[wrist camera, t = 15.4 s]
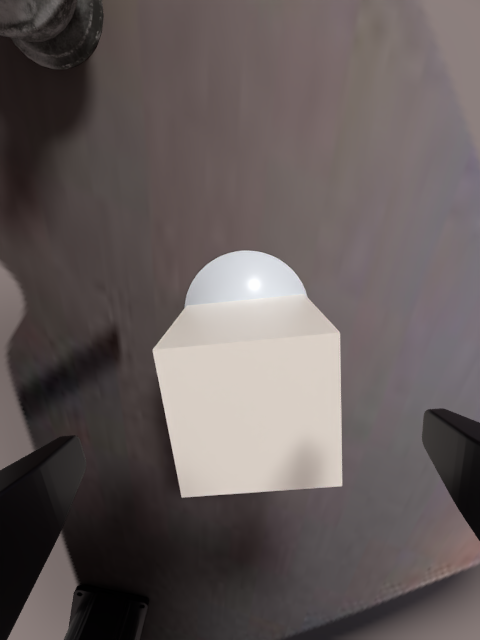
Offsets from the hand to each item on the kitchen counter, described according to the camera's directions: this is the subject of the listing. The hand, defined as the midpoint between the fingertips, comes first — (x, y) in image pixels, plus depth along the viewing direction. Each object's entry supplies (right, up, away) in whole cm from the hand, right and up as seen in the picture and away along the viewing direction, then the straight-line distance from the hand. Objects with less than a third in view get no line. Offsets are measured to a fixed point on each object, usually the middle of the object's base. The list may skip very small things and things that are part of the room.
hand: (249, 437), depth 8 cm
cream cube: (0, +1, +13) cm, 13 cm away
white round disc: (0, +3, +12) cm, 13 cm away
